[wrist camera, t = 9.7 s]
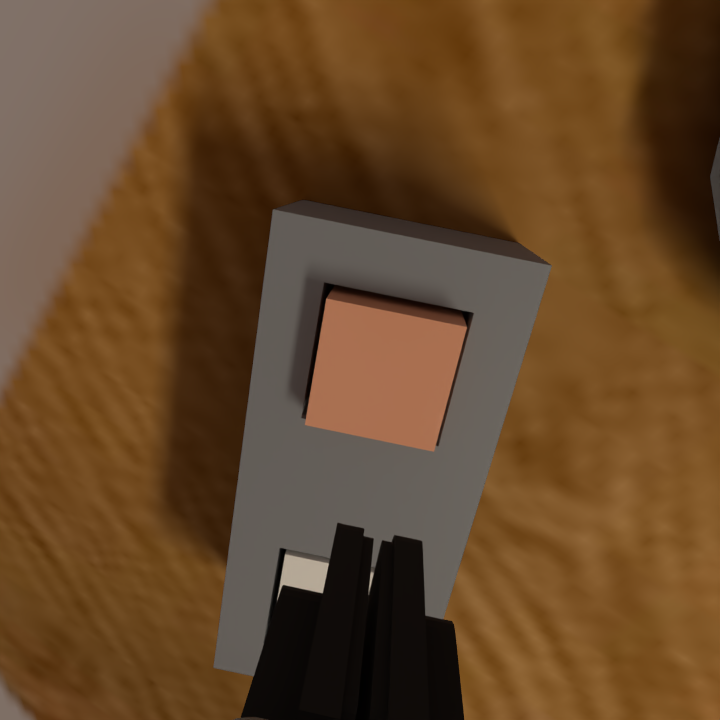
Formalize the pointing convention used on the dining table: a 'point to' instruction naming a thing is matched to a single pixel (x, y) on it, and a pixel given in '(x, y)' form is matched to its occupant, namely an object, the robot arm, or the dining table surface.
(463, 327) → the terracotta plunger
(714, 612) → the dining table surface
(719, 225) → the pie
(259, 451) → the button box
